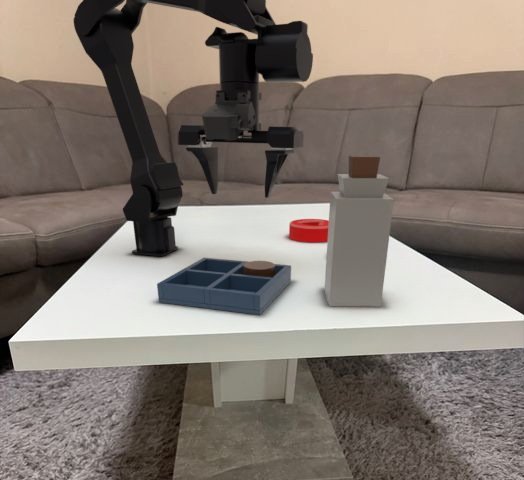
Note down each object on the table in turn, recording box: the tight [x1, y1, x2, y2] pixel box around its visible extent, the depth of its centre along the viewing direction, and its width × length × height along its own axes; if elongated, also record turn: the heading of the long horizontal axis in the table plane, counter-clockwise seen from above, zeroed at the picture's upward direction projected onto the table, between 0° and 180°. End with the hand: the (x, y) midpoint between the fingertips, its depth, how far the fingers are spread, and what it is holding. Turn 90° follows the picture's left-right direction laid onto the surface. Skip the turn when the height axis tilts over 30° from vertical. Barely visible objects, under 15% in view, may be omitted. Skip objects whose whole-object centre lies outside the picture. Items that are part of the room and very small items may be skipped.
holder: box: [156, 257, 292, 316], centre depth 65 cm, size 14×14×3 cm
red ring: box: [288, 218, 329, 243], centre depth 97 cm, size 10×10×3 cm
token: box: [243, 260, 276, 278], centre depth 66 cm, size 5×5×2 cm
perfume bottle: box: [324, 155, 395, 308], centre depth 59 cm, size 7×7×18 cm
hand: (240, 195), depth 73 cm, fingers open, 9 cm apart
